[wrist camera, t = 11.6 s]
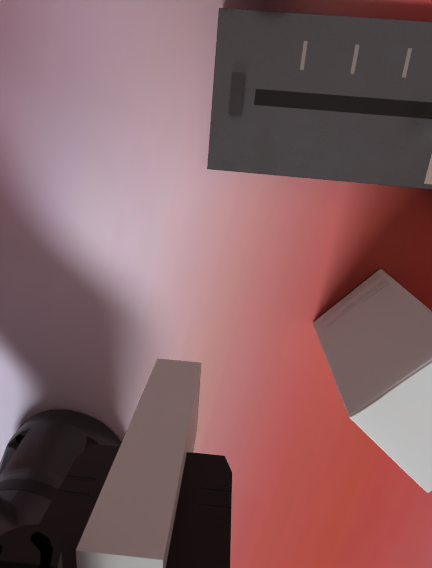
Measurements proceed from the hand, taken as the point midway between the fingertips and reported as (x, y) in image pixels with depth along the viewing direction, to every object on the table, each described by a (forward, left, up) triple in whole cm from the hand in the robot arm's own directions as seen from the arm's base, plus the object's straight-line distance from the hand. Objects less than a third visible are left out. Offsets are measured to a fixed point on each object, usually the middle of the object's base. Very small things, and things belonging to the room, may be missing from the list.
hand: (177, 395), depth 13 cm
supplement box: (+16, -7, -25) cm, 31 cm away
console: (+12, +13, -25) cm, 31 cm away
